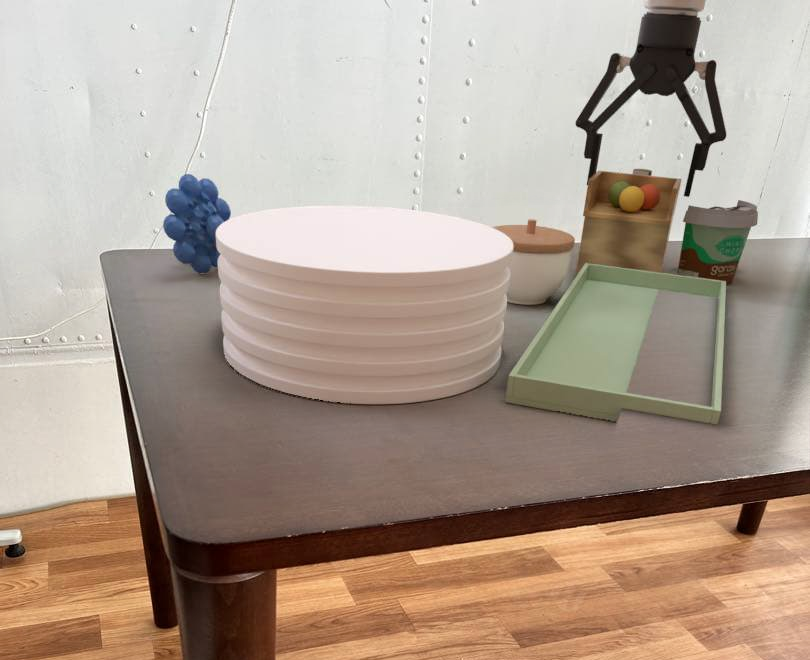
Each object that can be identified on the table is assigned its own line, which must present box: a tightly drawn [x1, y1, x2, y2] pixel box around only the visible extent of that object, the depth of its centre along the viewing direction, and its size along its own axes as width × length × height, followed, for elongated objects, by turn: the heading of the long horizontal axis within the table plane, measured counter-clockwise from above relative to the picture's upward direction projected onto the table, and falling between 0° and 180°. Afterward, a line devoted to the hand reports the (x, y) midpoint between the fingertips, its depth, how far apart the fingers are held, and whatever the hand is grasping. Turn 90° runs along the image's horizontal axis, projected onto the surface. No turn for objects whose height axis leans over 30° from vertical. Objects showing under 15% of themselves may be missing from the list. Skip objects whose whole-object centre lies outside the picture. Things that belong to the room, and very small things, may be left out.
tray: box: [504, 263, 727, 425], centre depth 90 cm, size 18×46×3 cm, turn 161°
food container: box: [676, 199, 759, 286], centre depth 112 cm, size 12×6×10 cm, turn 126°
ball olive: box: [608, 182, 630, 207], centre depth 111 cm, size 3×3×3 cm
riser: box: [574, 216, 674, 277], centre depth 113 cm, size 11×6×8 cm, turn 71°
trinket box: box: [492, 218, 576, 306], centre depth 101 cm, size 11×11×9 cm
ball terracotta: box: [640, 184, 660, 210], centre depth 110 cm, size 3×3×3 cm
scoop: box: [582, 168, 682, 226], centre depth 111 cm, size 11×15×4 cm
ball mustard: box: [619, 186, 644, 212], centre depth 108 cm, size 3×3×3 cm
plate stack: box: [216, 205, 514, 405], centre depth 81 cm, size 28×28×12 cm
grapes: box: [162, 173, 232, 274], centre depth 102 cm, size 12×7×12 cm, turn 151°
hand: (637, 189), depth 117 cm, fingers open, 13 cm apart
